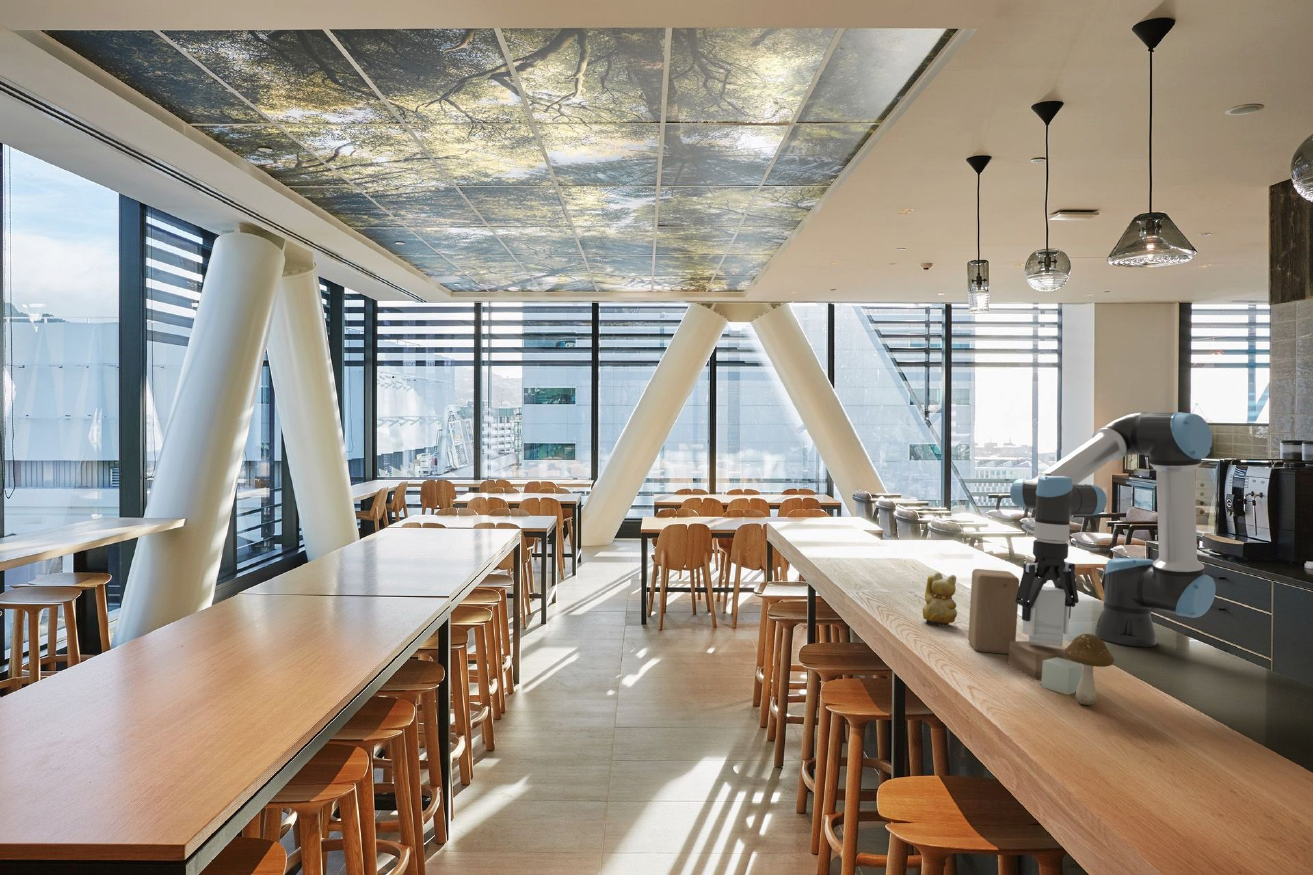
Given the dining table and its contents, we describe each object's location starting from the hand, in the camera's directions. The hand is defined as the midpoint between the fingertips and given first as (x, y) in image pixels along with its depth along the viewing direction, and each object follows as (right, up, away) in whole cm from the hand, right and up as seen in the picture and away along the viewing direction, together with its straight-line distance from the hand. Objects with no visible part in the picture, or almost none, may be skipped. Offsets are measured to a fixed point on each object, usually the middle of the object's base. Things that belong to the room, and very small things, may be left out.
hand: (1045, 633), depth 193 cm
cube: (-2, -10, -12) cm, 16 cm away
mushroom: (-3, -10, -23) cm, 25 cm away
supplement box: (0, -2, 0) cm, 2 cm away
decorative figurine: (-11, -8, +42) cm, 44 cm away
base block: (-1, -9, 0) cm, 10 cm away
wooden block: (-5, -9, +19) cm, 21 cm away
